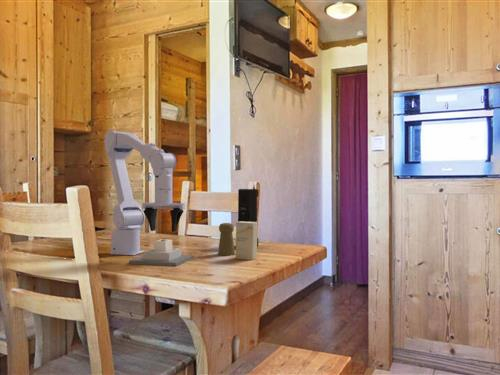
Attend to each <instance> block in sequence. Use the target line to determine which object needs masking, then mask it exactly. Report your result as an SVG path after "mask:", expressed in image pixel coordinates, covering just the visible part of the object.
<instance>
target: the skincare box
mask: <svg viewBox="0 0 500 375" xmlns="http://www.w3.org/2000/svg"><path fill="white" fill-rule="evenodd" d="M257 238H258V221H257V222H244V221H240V222H238V221H236V224H235V260H236V259H238V260H245V261H246V260H248V261H253V260H254V259H257V258H258V257H257V255H258V247H257Z"/></svg>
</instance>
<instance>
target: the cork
mask: <svg viewBox="0 0 500 375" xmlns="http://www.w3.org/2000/svg"><path fill="white" fill-rule="evenodd" d="M234 229H235V226H234V224H233V223H231V222H223V223H220V224H219V226H218V230H219V232H220V234H219V243H218V251H217V255H218V256H222V257H230V256H231V255H232V256H234V255H235V256H236V249H235V244H234V236H233V232H234Z"/></svg>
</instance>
